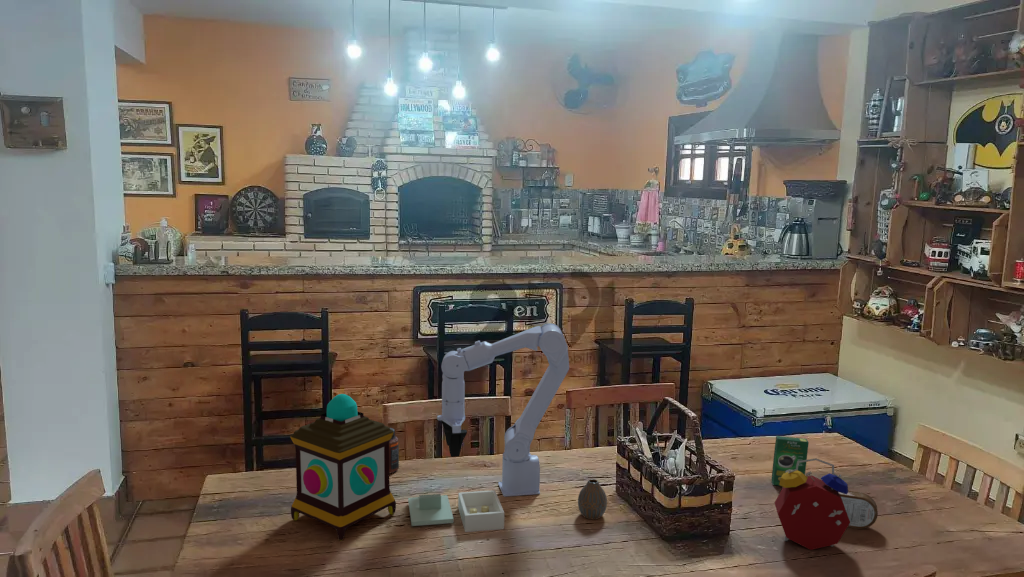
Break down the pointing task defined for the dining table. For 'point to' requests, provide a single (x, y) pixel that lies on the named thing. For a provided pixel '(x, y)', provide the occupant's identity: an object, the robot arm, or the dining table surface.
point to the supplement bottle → (393, 453)
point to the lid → (430, 510)
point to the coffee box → (788, 456)
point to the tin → (859, 509)
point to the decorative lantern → (342, 467)
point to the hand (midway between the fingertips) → (453, 450)
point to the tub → (480, 511)
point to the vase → (592, 500)
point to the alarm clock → (812, 508)
